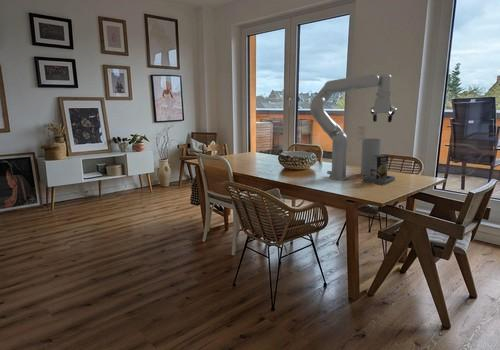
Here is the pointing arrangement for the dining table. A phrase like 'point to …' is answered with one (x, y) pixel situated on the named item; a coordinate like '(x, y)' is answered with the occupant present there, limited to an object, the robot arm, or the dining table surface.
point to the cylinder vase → (369, 154)
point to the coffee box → (379, 167)
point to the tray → (383, 182)
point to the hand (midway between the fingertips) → (382, 121)
